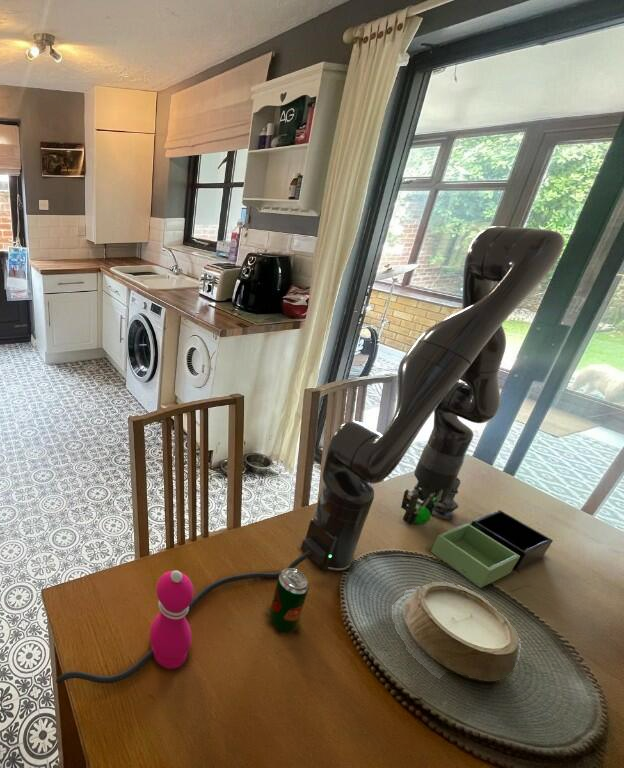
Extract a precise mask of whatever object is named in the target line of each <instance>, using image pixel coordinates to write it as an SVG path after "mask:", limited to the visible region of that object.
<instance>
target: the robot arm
mask: <svg viewBox="0 0 624 768" xmlns="http://www.w3.org/2000/svg"><path fill="white" fill-rule="evenodd" d="M564 245H565V239H564V237H563V235H562V234H561V233H560V232H558V231H556V230H552V229H551V230H550V229H541V228H531V227H530V228H529V227H519V226H517V227H516V226H515V227H514V226H499V225H498V226H497V225H496V226H490V227H488V228H485V229H484V230H482V231H481V232H479V233H478V235H477V236H475V238H474V239H473V240H472V242H471V244H470V245H469V247H468V250H467V253H466V256H465V261H464V266H463V280H462V281H463V282H462V305H461V310H460V311H459V312H457V313H455V314H452V315H450V316H449V317H446V318H445V319H442V320H441V321H439V322H437V323H436V324H434V325H432V326H430V327H429V328H427V329H426V330H424V331H423V332H422V333H421V334H419V336H418V337H417V338H416V340H415V341H414V342H413V344H412V345H411V346H410V348H409V349H408V351H407V352H406V353H405V355H404V356H403V357H402V359H401V360H400V363H399V365H398V369H397V377H396V378H397V380H396V386H397V387H396V391H397V393H396V394H397V395H396V408H395V412H394V413H393V417H392V418H391V421H390V422H389V424H388V426H387V427H386V429H385V430H384V432H383V433H381V432H379V431H377V430H376V429H373V428H372V427H370V426H368V425H367V424H364V423H363V422H361V421H358V420H357V421H356V420H349V421H346V422H344V423H342V424H341V425H340V426H339V427H338V428H337V429H336V430H335V432H334V433H332V436H331V439H330V440H329V443H328V447H327V451H326V455H325V459H324V460H325V461H324V465H323V470H322V475H321V477H322V482H323V484H322V487H321V490H320V495H319V498H318V502H317V505H316V509H315V512H314V515H313V518H311V519H310V521H309V524H308V528H307V532H306V535H305V538H304V539H303V540H302V544H301V547H300V550H301V551H302V553H303V554H301V555H300V556H298V557H297V558H295V560H293V561H291V563H290V564H289V566H287V568H293V569H296V567H297V566H298V565H299V564H301V563H302V562H303V561H305V560H306V559H310V560H311V561H312V562H313V563H315V564H316V566H317V567H319V569H321V570H322V571H326V570H328V571H333V572H343V571H346V570H348V569H349V568H350V567H351V565H352V562H353V559H354V558H353V557H354V556H355V555H354V554H355V552H356V549H357V547H358V543H359V541H360V538H361V535H362V532H363V530H364V526H365V523H366V521H367V518H368V516H369V513H370V510H371V507H372V504H373V502H374V499H375V489H374V486H373V485H372V484H376V483H377V484H378V483H380V482H382V481H384V480H385V479H387V477H389V476H390V475H391V474H392V473H393V472H394V470H395V469H396V468H397V466H398V465H399V464H400V462H401V461H402V459H403V458H404V456H405V455H406V453H407V451H408V450H409V449H410V447H411V446H412V444H413V442H414V441H415V439H416V438H417V436H418V435H419V433H420V432H421V430H422V429H423V426H424V425H425V424H426V423H427V421H428V419H429V418H430V417H431V415H432V414H433V426H432V430H431V433H430V436H429V437H428V441H427V442H426V444H425V446H424V447H423V449H422V451H421V454H420V457H419V459H418V462H417V464H416V466H415V468H414V469H415V470H414V472H413V474H414V477H415V478H416V480H417V482H416V484H415V485H414V487H413V490H409V489H405V490H404V493H403V496H402V501H401V506H400V508H401V509H402V510H404V511H405V512H404V515H403V517H402V520H403V522H405V523H406V524H408V525H410V526H412V525H414V524H415V523H414V522H415V519H416V517H417V515H418V512H419V511H420V509H421V508H422V507H426V508H427V509H428V510H429V511H430V515H431V516H432V512H433V509H434V507H436V506H437V505H438V502H439V503H442V502H443V501H444V499H445V497H446V496H447V494H448V492H449V491H450V489H451V487H452V486H453V484H454V482H455V480H456V478H458V475H459V473H460V471H461V469H462V467H463V465H464V463H465V462H464V461H465V457H466V455H467V452H468V450H469V448H470V445H471V443H472V441H473V438H474V432H473V430H472V429H471V428H470V427H469V426H468V425H466V424H465V423H463V421H461V420H460V419H459V418H461V419H464V420H466V421H468V422H471V423H474V424H484V423H488V422H490V421H491V420H493V419H494V418H495V417H496V416H497V414H498V412H499V411H500V407H501V394H500V392H501V391H500V383H499V371H500V367H501V365H502V361H503V358H504V355H505V352H506V347H507V337H506V332H505V329H504V327H503V323H505V322H506V320H507V319H508V318H509V316H511V314H513V312H515V310H516V309H517V308H518V307H519V306H520V305H521V304H522V303H523V302H524V300H525V299H527V298H528V297H529V295H530V294H531V293H532V292H533V291H534V290H535V289H536V287H537V286H538V285H539V284H540V283H541V282H542V281H543V280H544V279H545V278H546V277H547V275H548V274H549V273H550V271H551V270H552V269H553V267H554V266H555V265H556V263H557V262H558V260H559V258H560V256H561V254H562V252H563V248H564ZM494 282H495V283H496V284H495V285H494ZM493 285H494V286H493ZM441 494H442V495H441ZM416 504H417V507H416ZM415 507H416V508H415ZM281 572H283V570H281V571H277V572H249V573H248V572H247V573H241V574H235V575H231V576H227V577H223V578H222V579H218V580H216V581H214V582H212V583H210V584H208V585H207V586H205V588H203V589H202V590H201V591H200V592H199V593H198V594H196V595H194V596H193V600H192V602H191V604H190V605H189V610H188V613H189V612H190V611H191V610H192V608H193V607H194V606H195V605H196V604H197V603H198V602H199V601H200V600H202V599H203V597H204V596H206V595H207V594H209V593H210V592H211V591H214V590H215V589H216V588H218V587H220V586H223V585H225V584H227V583H230V582H231V583H232V582H235V581H241V580H242V581H243V580H248V579H257V578H262V579H263V578H265V579H278V577H279V574H280V573H281ZM188 613H187V614H186V615H185V617H187V615H188ZM153 656H154V653H153V650H152V648H151V649H150V650H149V651H148V652H147V653H145V655H144V656H143V657H141V659H139V660H138V661H137V662H136V663H135V664H133V665H132V666H131V667H129V668H128V669H126V670H124V671H122V672H120V673H117V674H114V675H106V676H105V675H99V674H98V675H97V674H93V673H89V672H85V671H78V670H70V671H67V672H64V673H62V674H61V675H59V676H58V677H57V678H56V679H55V683H56V684H57V685H58V684H62V683H63V682H65V681H66V680H71V679H78V680H79V679H80V680H84V681H89V682H91V683H92V682H93V683H98V684H115V683H117V682H120V681H123V680H125V679H127V678H129V677H131V676H133V675H134V674H135V673H137V672H138V671H139V670H140V669H142V668H143V667H144V666H145V665H146V664H147V663H148V662H149V661H150V660H151V659H152V658H154V657H153Z"/></svg>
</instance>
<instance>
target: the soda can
mask: <svg viewBox="0 0 624 768" xmlns="http://www.w3.org/2000/svg"><path fill="white" fill-rule="evenodd" d="M282 571H283V572H281V571H280V572H281V573H280V574H279V577H278V578H277V581H276V586H275V589H274V594H273V597H272V601H271V605H270V610H269V613H268V618H269V621H270V623H271V625H273V626H274V628H275V629H277V630H278V631H281V632H283V633H292V632H295V631H296V629H297V628H298V625H299V622H300V618H301V615H302V611H303V608H304V605H305V602H306V599H307V595H308V592H309V582H308V578H307V576H306V575H305V574H304V573H303V572H302V571H300V570H299V569H296V568H294V569H293V568H288V567H286V568H285V569H283V570H282Z"/></svg>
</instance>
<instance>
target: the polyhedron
mask: <svg viewBox="0 0 624 768" xmlns="http://www.w3.org/2000/svg"><path fill="white" fill-rule="evenodd" d="M416 507H417V504H416ZM416 507H415V508H416ZM431 519H432V514H431V515H430V511H429V510H428V509H427V508H426V507H422V508H421V509H420V511H419V512H418V515H417V517H416V519H415V522H414V524H417V525H418V524H419V525H424V524H426V523H428V522H430V521H431Z"/></svg>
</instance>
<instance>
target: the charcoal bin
mask: <svg viewBox="0 0 624 768" xmlns="http://www.w3.org/2000/svg"><path fill="white" fill-rule="evenodd" d="M470 525H471V526H473V527H475V528H476V529H478V530H479V531H481V532H483V533H484V534H486V535H487V536H489V537H491V538H492V539H494V540H495V541H497V542H499V543H500V544H502V545H503V546H505V547H506V548H508V549H510V550H511V551H513V552H514V553H516V554H518V555H519V556H520V558H519V559H518V561H517V563H516V564H515V566H514V568H513V569H512V570H513V571H518V570H519V569H521V568H524V567H525V566H527V565H529V564H531V563H534V562H535V561H537V560H540V559H541V558H543V557H544V556H545V554H546V552H547V551H548V549H549V548H550V546H551V544H552V543H553V541H554V540H553V539H552V538H550V537H548V536H547V535H544V534H543V533H541V532H539V531H538V530H535V529H534V528H532V527H530V526H529V525H527V524H526V523H523V522H522V521H520V520H519V519H517V518H514V517H513V516H511V515H509V514H507V513H506V512H505V511H503V510H500V509H499V510H497V511H496V510H495V511H494V512H491V513H489V514H486V515H484V516H482V517H479V518H477V519H475V520H472V521H471V523H470Z"/></svg>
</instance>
